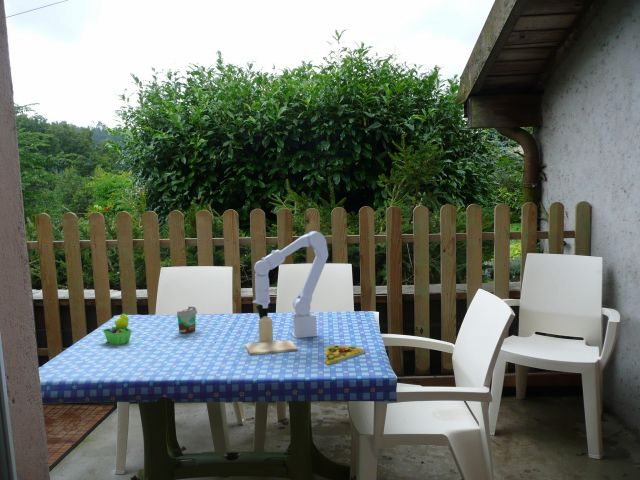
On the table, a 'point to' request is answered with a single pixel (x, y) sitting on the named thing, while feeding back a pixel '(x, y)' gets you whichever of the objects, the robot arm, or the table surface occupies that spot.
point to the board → (270, 347)
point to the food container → (187, 320)
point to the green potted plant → (119, 331)
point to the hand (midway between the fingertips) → (263, 322)
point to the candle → (265, 329)
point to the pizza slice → (341, 353)
